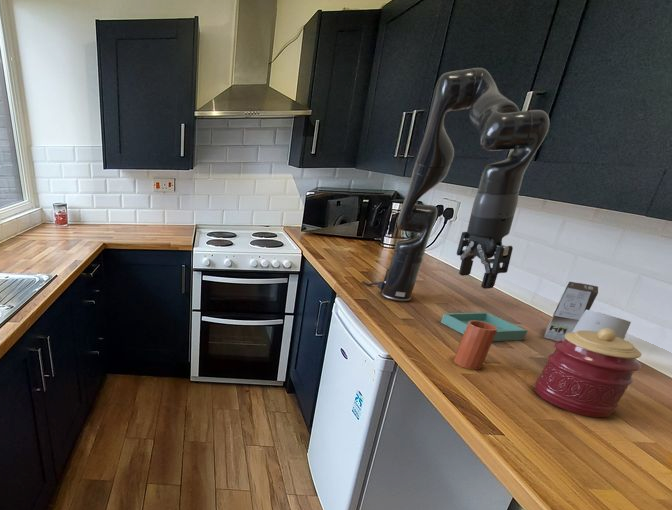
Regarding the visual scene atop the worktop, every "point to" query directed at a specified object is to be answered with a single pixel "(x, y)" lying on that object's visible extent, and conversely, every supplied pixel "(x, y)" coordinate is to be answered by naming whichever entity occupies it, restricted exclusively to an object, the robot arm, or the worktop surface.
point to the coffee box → (570, 309)
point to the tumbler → (475, 344)
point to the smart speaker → (602, 323)
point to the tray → (504, 328)
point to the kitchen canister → (588, 372)
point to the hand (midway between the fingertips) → (475, 281)
